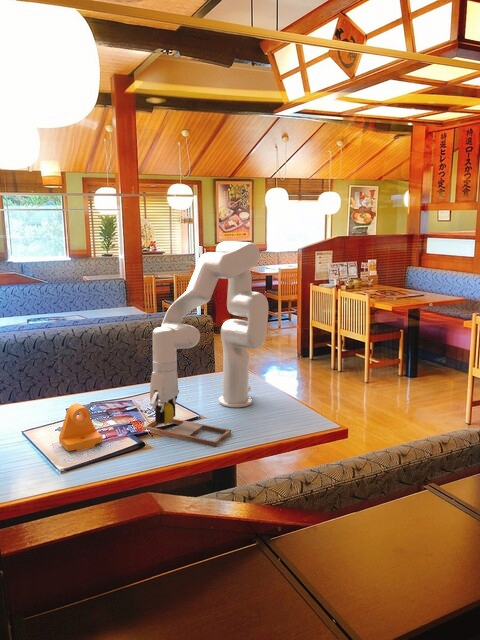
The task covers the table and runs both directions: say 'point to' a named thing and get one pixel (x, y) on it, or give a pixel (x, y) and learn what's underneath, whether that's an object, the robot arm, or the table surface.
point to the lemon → (168, 412)
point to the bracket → (78, 430)
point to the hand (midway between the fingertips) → (165, 418)
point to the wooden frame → (189, 432)
